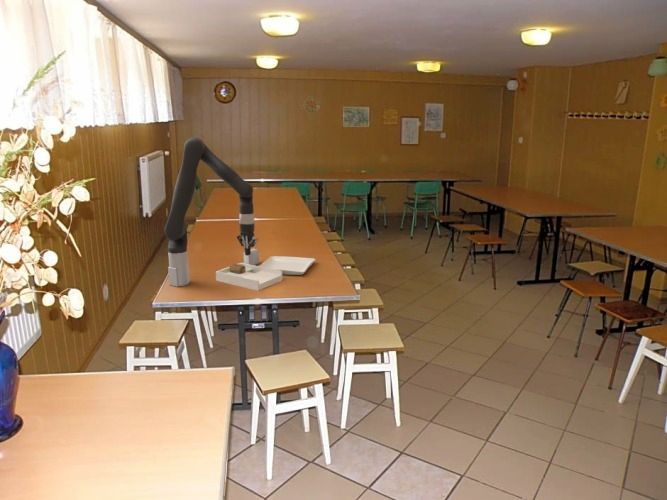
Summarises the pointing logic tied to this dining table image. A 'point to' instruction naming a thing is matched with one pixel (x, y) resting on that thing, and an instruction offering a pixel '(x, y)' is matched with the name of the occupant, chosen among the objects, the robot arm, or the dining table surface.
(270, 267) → the square plate
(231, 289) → the dining table surface
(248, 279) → the box
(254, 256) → the medicine box
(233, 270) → the walnut block
